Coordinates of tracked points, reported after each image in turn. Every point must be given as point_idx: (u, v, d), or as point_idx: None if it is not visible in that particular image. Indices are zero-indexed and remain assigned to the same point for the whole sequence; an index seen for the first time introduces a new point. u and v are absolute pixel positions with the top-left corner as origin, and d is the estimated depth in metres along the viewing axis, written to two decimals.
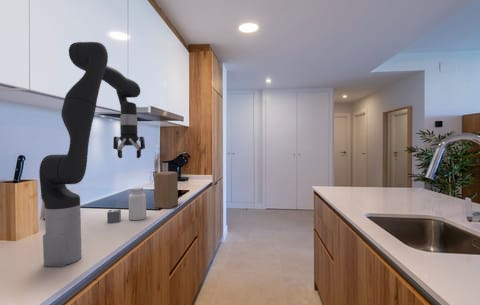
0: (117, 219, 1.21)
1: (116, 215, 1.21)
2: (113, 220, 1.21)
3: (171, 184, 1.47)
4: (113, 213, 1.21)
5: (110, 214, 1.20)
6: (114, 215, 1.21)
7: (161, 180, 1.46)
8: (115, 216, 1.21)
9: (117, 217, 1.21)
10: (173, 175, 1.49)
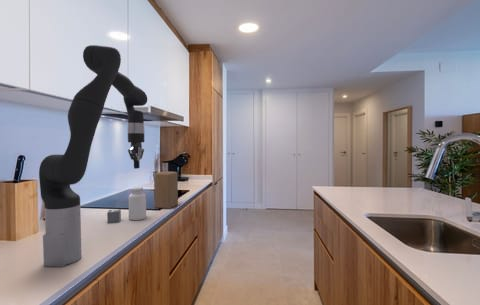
0: (117, 219, 1.21)
1: (116, 215, 1.21)
2: (113, 220, 1.21)
3: (171, 184, 1.47)
4: (113, 213, 1.21)
5: (110, 214, 1.20)
6: (114, 215, 1.21)
7: (161, 180, 1.46)
8: (115, 216, 1.21)
9: (117, 217, 1.21)
10: (173, 175, 1.49)
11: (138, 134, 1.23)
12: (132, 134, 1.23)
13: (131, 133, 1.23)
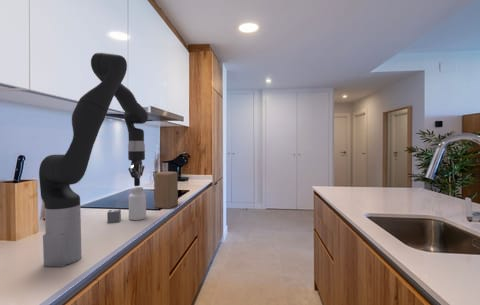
0: (117, 219, 1.21)
1: (116, 215, 1.21)
2: (113, 220, 1.21)
3: (171, 184, 1.47)
4: (113, 213, 1.21)
5: (110, 214, 1.20)
6: (114, 215, 1.21)
7: (161, 180, 1.46)
8: (115, 216, 1.21)
9: (117, 217, 1.21)
10: (173, 175, 1.49)
11: (138, 152, 1.24)
12: (132, 152, 1.23)
13: (131, 151, 1.23)
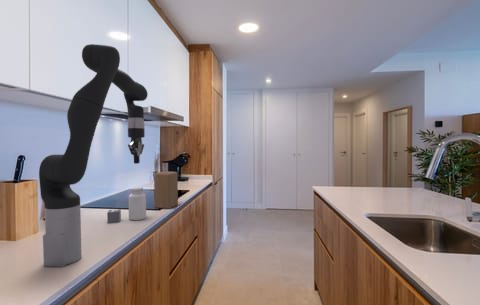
0: (117, 219, 1.21)
1: (116, 215, 1.21)
2: (113, 220, 1.21)
3: (171, 184, 1.47)
4: (113, 213, 1.21)
5: (110, 214, 1.20)
6: (114, 215, 1.21)
7: (161, 180, 1.46)
8: (115, 216, 1.21)
9: (117, 217, 1.21)
10: (173, 175, 1.49)
11: (138, 129, 1.23)
12: (132, 129, 1.23)
13: (131, 128, 1.23)
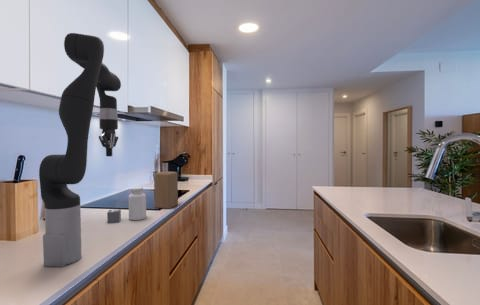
0: (117, 219, 1.21)
1: (116, 215, 1.21)
2: (113, 220, 1.21)
3: (171, 184, 1.47)
4: (113, 213, 1.21)
5: (110, 214, 1.20)
6: (114, 215, 1.21)
7: (161, 180, 1.46)
8: (115, 216, 1.21)
9: (117, 217, 1.21)
10: (173, 175, 1.49)
11: (110, 120, 1.18)
12: (103, 120, 1.17)
13: (102, 119, 1.17)
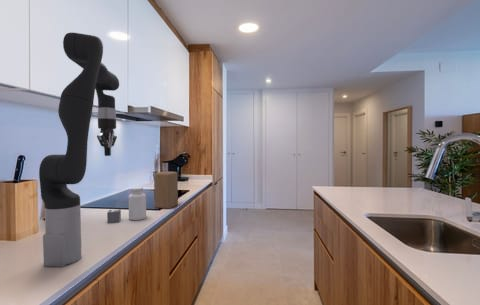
0: (117, 219, 1.21)
1: (116, 215, 1.21)
2: (113, 220, 1.21)
3: (171, 184, 1.47)
4: (113, 213, 1.21)
5: (110, 214, 1.20)
6: (114, 215, 1.21)
7: (161, 180, 1.46)
8: (115, 216, 1.21)
9: (117, 217, 1.21)
10: (173, 175, 1.49)
11: (108, 119, 1.18)
12: (102, 119, 1.17)
13: (101, 118, 1.17)
